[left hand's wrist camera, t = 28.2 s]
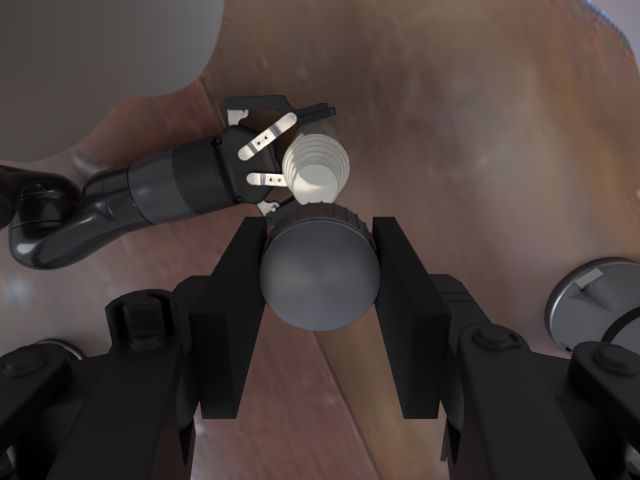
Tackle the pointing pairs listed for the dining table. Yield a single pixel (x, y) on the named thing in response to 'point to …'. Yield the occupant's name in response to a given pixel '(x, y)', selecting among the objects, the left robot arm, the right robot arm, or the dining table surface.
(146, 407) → the left robot arm
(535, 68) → the dining table surface
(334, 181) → the bottle
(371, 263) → the cap
